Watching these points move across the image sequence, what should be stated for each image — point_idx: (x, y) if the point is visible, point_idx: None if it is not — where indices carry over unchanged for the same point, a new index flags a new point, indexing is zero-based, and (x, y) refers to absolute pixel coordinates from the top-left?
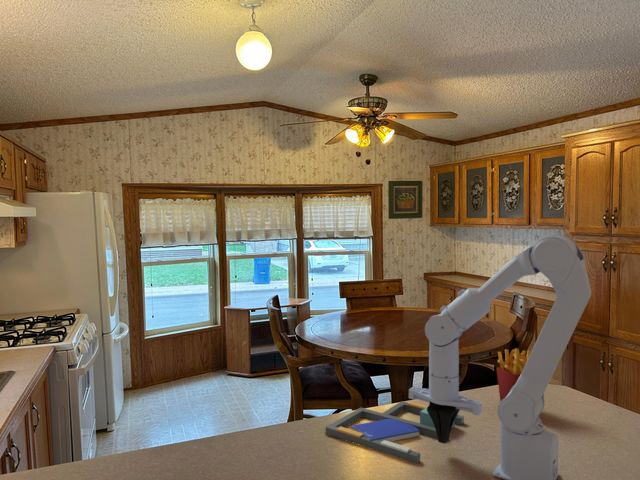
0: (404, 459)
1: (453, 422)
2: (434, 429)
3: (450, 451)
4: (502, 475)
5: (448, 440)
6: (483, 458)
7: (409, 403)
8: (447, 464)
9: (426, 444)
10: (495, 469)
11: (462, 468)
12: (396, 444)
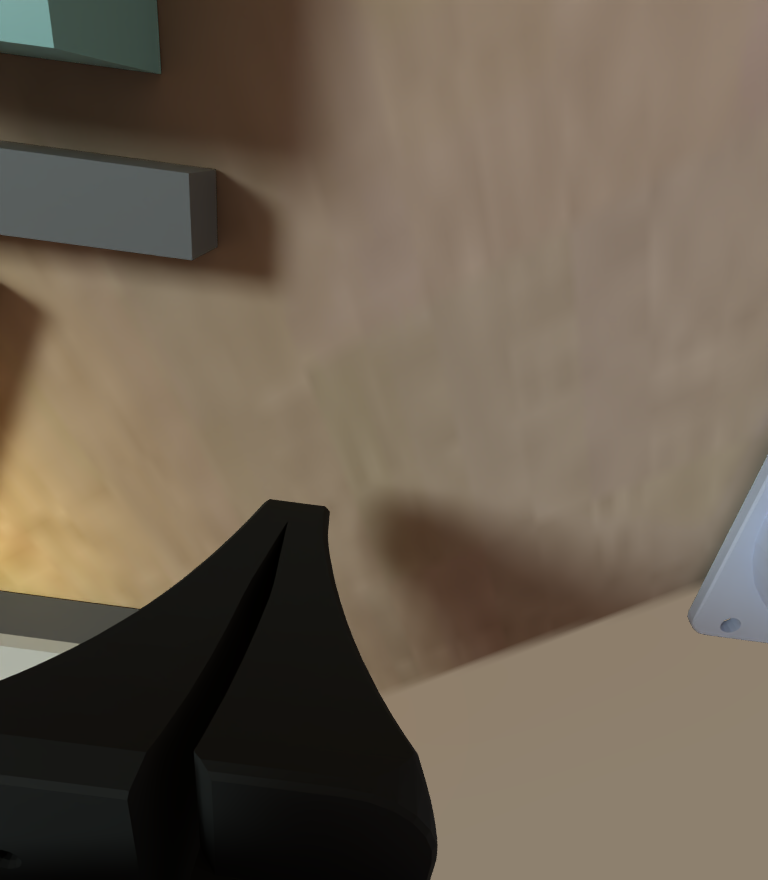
0: None
1: (346, 623)
2: (63, 211)
3: (347, 425)
4: (755, 632)
5: (328, 517)
6: (615, 418)
7: None
8: (388, 594)
9: (137, 399)
10: (713, 587)
11: (487, 600)
12: (25, 657)
